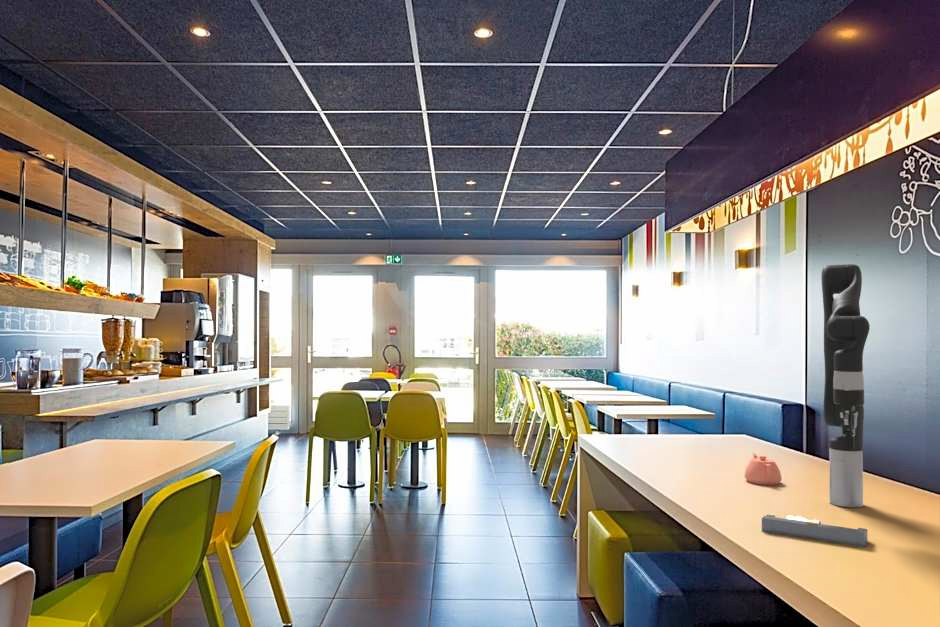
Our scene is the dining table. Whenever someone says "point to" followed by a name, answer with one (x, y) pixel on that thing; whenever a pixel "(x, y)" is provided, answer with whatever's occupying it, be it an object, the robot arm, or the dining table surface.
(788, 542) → the dining table surface
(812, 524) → the stop bracket
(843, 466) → the robot arm
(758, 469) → the pink rounded piece
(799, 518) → the pipe fitting
